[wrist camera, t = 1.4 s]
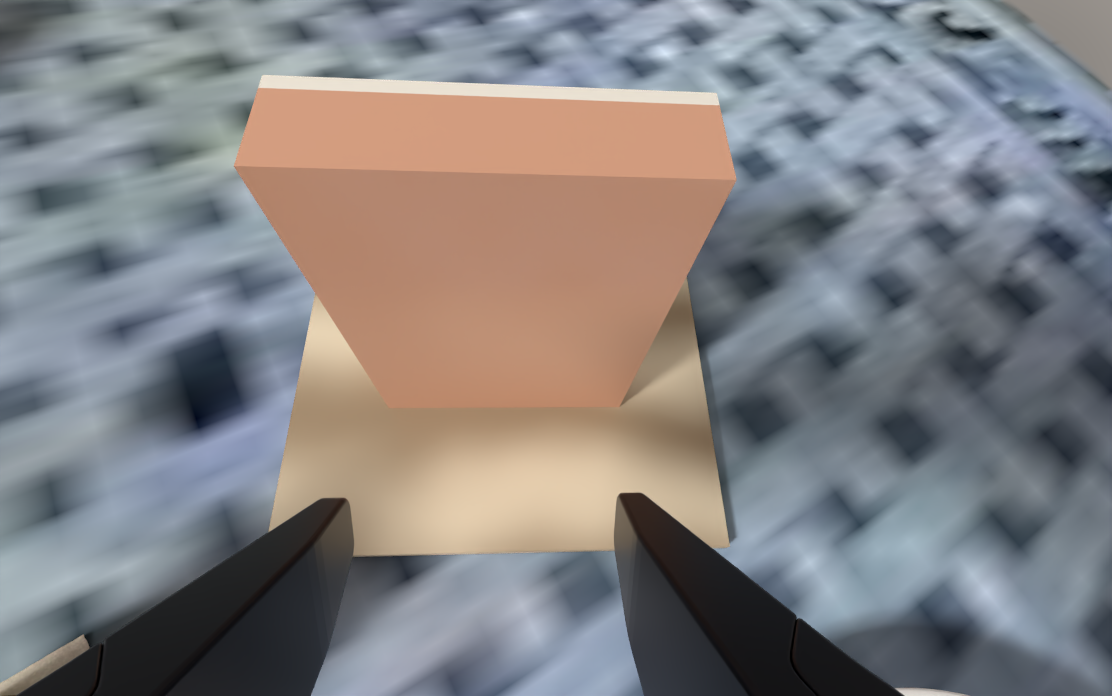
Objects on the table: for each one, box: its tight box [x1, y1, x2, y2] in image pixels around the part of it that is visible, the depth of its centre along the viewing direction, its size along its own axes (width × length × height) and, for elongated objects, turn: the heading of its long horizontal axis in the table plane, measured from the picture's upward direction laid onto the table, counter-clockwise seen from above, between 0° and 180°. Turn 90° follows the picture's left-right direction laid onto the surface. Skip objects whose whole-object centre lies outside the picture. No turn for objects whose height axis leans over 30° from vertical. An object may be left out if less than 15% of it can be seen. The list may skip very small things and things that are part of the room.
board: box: [268, 277, 730, 557], centre depth 26 cm, size 24×18×1 cm
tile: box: [234, 75, 736, 408], centre depth 18 cm, size 3×10×14 cm, turn 92°
